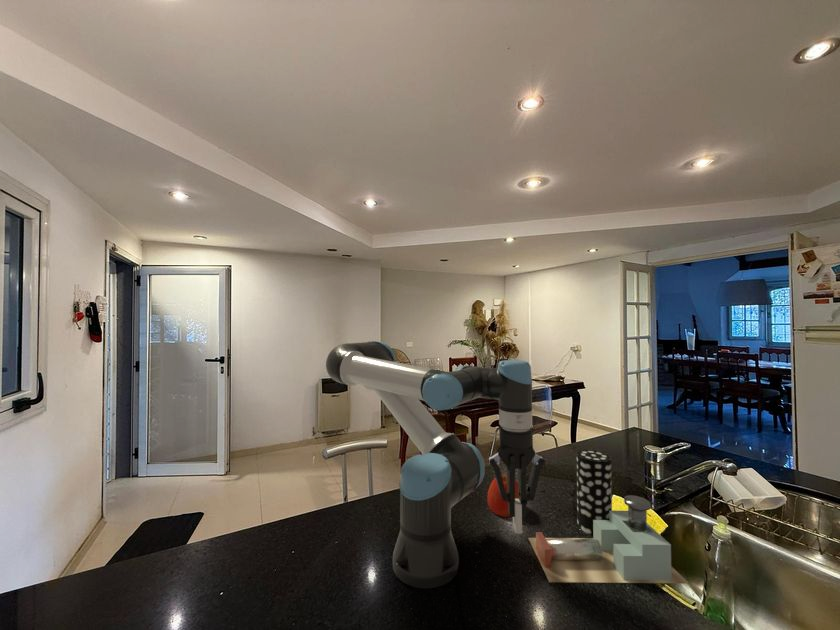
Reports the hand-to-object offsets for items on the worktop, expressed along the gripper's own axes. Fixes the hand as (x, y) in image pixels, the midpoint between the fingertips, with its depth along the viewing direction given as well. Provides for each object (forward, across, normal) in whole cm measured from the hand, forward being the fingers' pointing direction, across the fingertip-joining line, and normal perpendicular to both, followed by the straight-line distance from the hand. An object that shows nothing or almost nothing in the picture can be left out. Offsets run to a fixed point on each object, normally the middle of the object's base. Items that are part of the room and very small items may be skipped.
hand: (517, 529), depth 81 cm
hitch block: (+7, +26, 0) cm, 27 cm away
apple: (+8, +2, +21) cm, 23 cm away
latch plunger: (-1, +28, 0) cm, 28 cm away
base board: (+8, +19, 0) cm, 21 cm away
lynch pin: (+7, +12, 0) cm, 14 cm away
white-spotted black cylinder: (+8, +24, +12) cm, 28 cm away
